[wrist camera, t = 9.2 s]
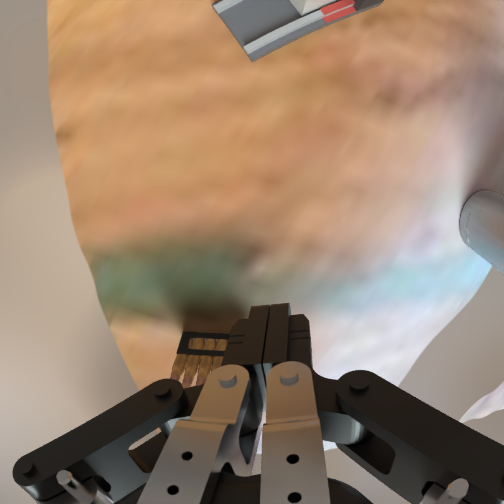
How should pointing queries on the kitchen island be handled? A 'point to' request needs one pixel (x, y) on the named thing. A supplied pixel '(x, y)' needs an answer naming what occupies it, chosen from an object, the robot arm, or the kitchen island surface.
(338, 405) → the robot arm
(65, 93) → the kitchen island surface
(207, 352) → the ammunition clip
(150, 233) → the kitchen island surface
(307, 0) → the grooved white block
